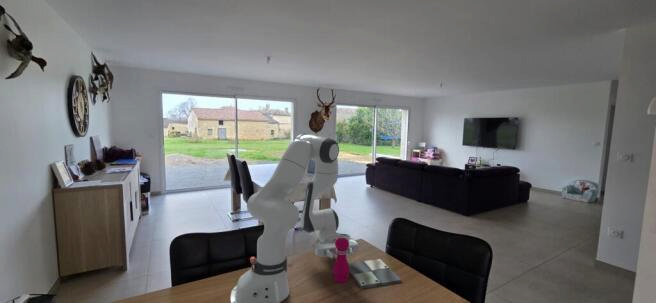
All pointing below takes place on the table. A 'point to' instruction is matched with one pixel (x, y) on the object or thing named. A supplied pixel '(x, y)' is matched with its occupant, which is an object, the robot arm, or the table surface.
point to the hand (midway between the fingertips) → (342, 255)
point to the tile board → (372, 273)
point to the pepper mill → (341, 260)
